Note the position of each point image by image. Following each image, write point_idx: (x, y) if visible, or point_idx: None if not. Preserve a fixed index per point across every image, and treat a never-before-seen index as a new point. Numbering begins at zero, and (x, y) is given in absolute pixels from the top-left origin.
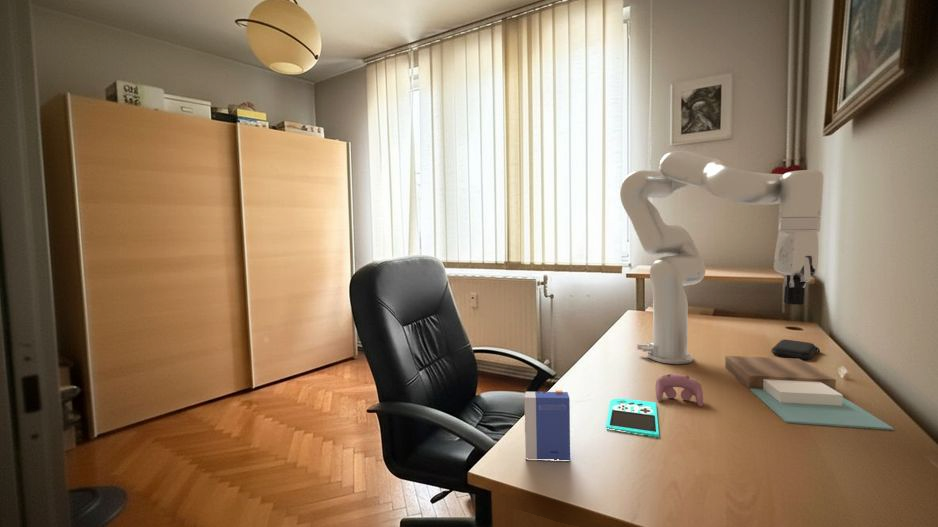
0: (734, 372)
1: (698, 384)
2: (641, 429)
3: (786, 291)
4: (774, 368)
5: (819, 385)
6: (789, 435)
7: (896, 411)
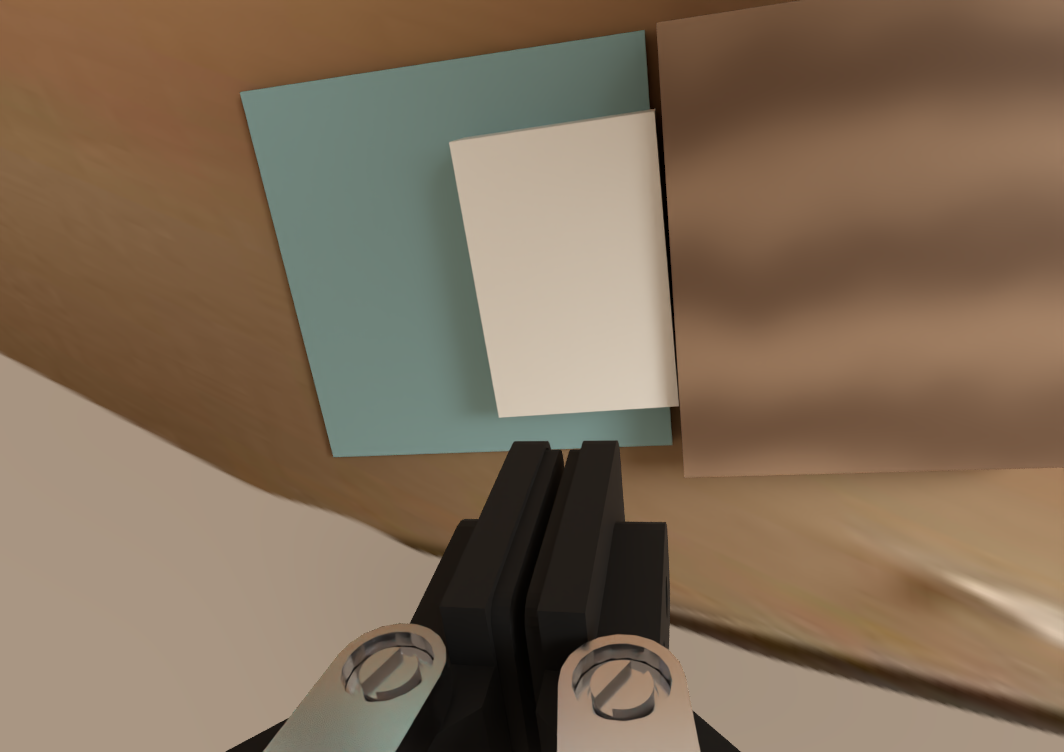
0: None
1: None
2: None
3: (550, 552)
4: (845, 237)
5: (613, 376)
6: (120, 62)
7: None
